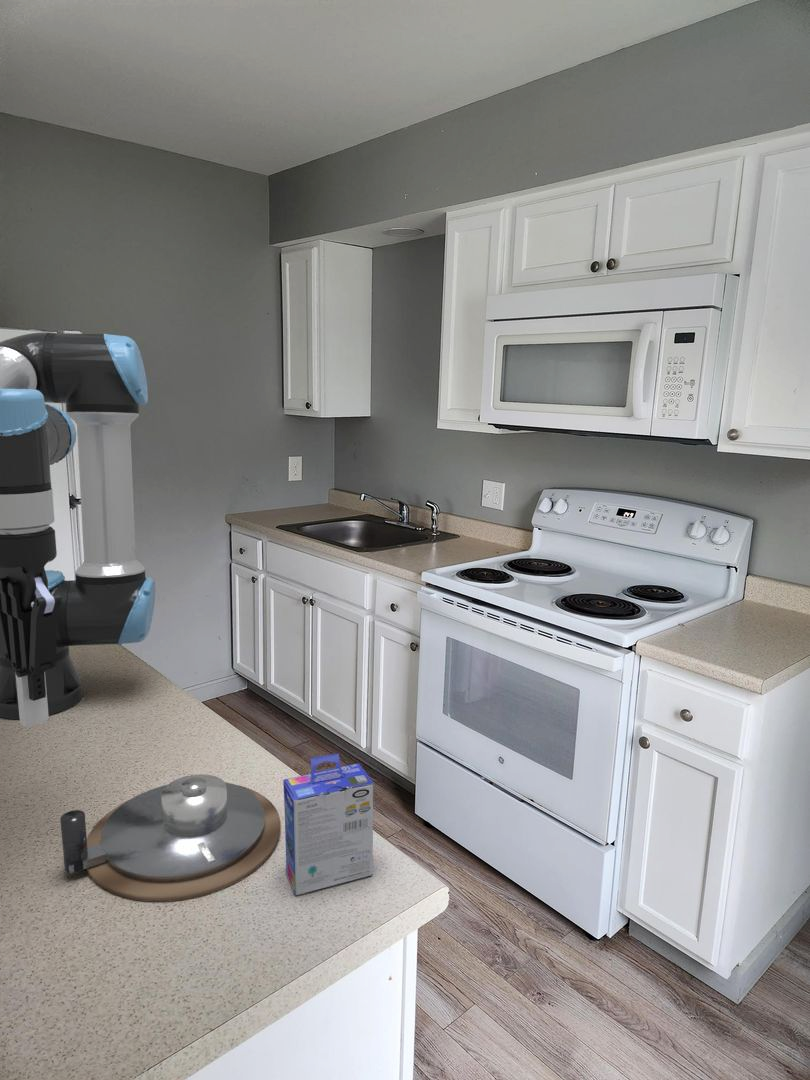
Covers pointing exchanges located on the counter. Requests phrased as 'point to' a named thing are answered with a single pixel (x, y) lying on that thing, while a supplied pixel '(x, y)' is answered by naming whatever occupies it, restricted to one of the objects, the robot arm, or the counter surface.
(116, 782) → the counter surface
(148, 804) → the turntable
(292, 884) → the ink cartridge box
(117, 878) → the base
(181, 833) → the cover
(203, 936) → the counter surface
